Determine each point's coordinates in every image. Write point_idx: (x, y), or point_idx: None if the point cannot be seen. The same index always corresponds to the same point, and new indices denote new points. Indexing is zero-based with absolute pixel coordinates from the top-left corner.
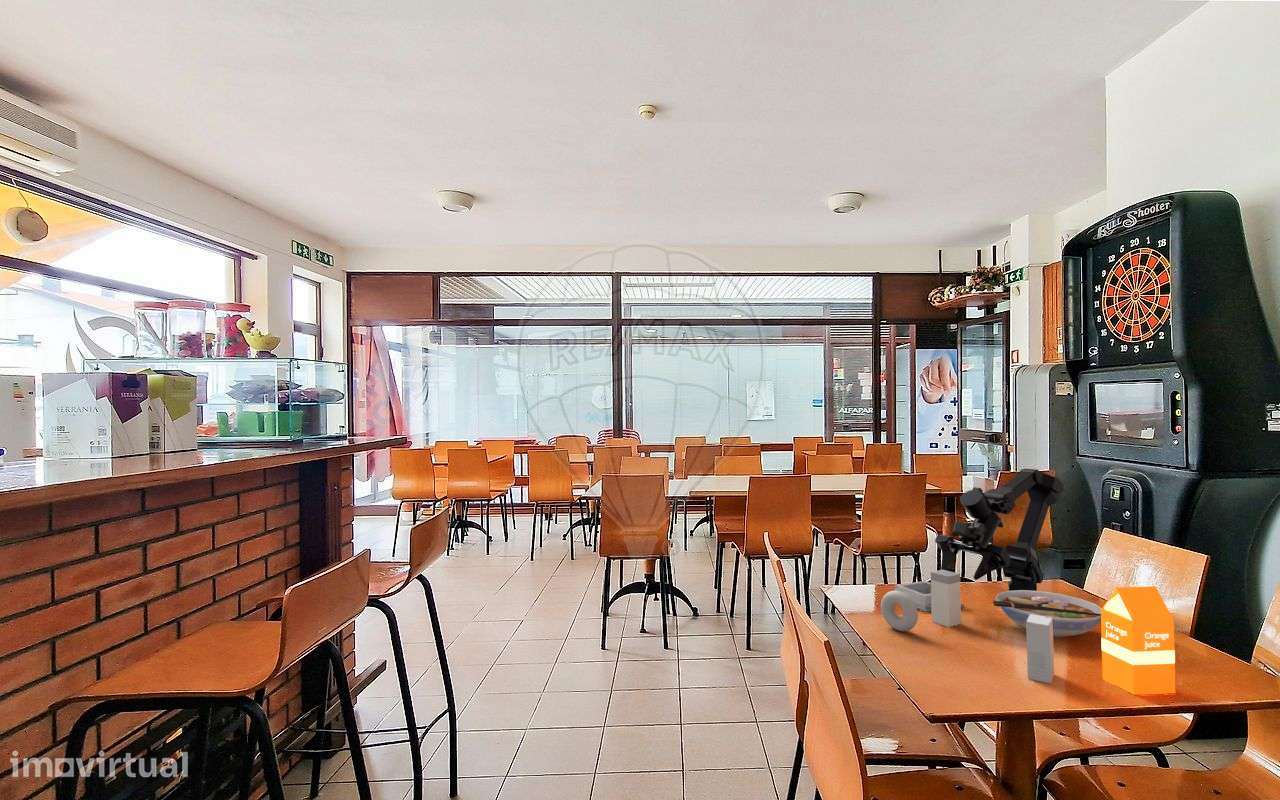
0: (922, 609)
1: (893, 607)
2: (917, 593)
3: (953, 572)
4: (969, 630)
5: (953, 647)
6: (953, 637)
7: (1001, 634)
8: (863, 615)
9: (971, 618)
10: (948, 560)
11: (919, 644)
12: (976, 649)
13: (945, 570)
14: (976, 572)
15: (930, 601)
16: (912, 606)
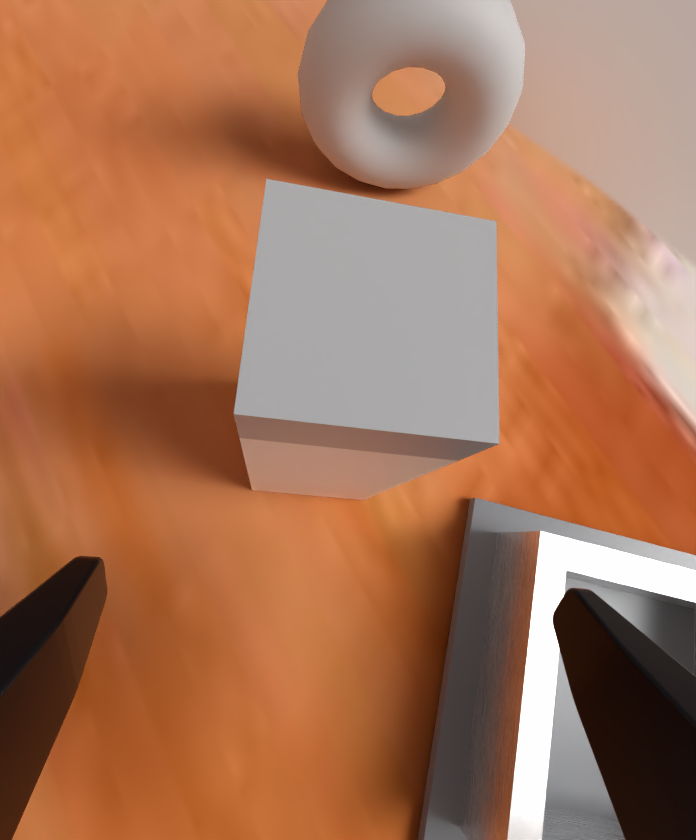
0: (496, 504)
1: (445, 93)
2: (604, 548)
3: (333, 415)
4: (167, 422)
5: (114, 151)
6: (176, 264)
7: (3, 507)
8: (586, 234)
9: (260, 644)
10: (692, 835)
11: (234, 92)
12: (23, 196)
13: (453, 428)
14: (35, 618)
15: (511, 578)
16: (321, 10)
